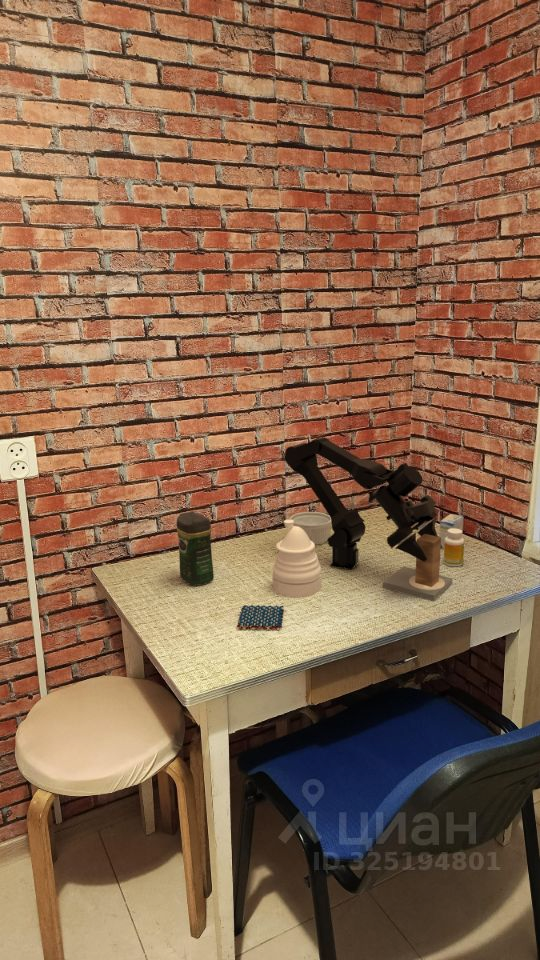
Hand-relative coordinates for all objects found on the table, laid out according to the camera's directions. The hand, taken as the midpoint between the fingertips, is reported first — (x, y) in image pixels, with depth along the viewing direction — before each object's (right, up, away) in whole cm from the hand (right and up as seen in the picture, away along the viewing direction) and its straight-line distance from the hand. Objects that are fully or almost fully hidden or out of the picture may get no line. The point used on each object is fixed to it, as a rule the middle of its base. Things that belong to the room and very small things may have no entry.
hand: (433, 554), depth 163 cm
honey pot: (-34, -9, +7) cm, 36 cm away
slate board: (-3, -9, +5) cm, 10 cm away
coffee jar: (-61, -8, +12) cm, 63 cm away
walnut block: (-1, -7, +3) cm, 8 cm away
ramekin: (-28, 0, +39) cm, 48 cm away
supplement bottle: (+10, -5, +18) cm, 21 cm away
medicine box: (+13, -1, +31) cm, 33 cm away
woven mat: (-44, -15, -10) cm, 47 cm away
